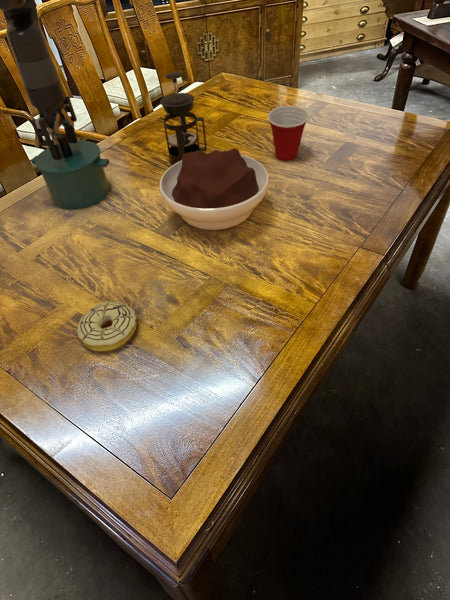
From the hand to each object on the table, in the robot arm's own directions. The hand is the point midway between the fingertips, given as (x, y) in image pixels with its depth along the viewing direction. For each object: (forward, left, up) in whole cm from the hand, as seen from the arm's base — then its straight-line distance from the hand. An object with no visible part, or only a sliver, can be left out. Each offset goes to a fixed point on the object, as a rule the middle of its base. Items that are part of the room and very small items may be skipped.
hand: (66, 150), depth 102 cm
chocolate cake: (+38, -5, -12) cm, 40 cm away
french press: (+24, +20, -12) cm, 34 cm away
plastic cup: (+52, +24, -12) cm, 59 cm away
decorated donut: (+26, -44, -12) cm, 53 cm away
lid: (0, 0, -2) cm, 2 cm away
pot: (0, 0, -12) cm, 12 cm away
